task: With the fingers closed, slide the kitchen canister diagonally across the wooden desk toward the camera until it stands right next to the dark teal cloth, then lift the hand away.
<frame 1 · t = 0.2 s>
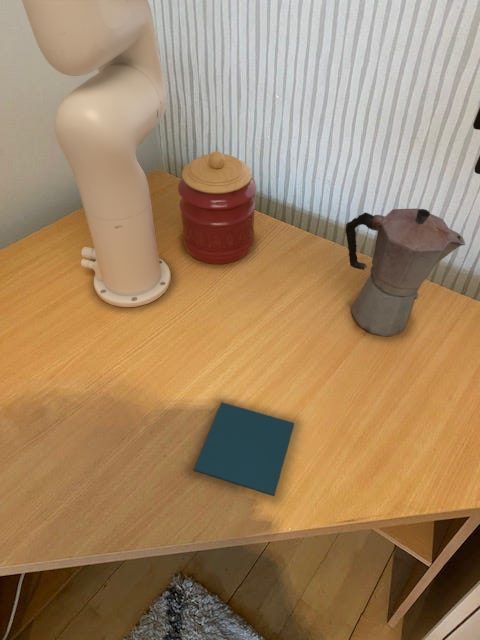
moka pot: (376, 317, 75), on the table
kitchen canister: (218, 243, 87), on the table
cloth: (245, 446, 59), on the table
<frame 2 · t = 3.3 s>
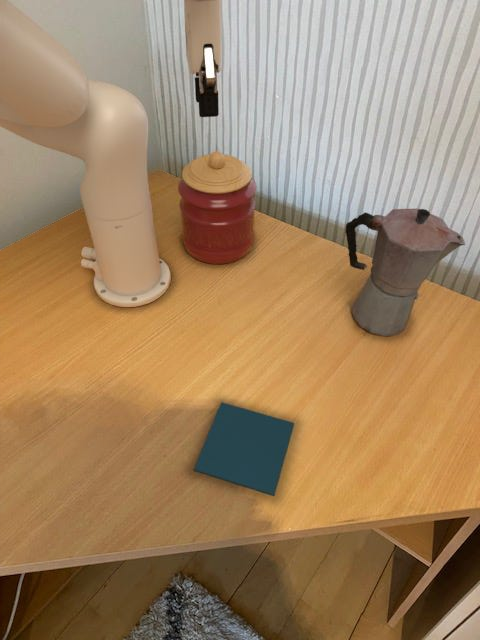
hand: (206, 107, 81), 19 cm above the table, tool pointing down, fingers open, 5 cm apart
nothing on the table moved.
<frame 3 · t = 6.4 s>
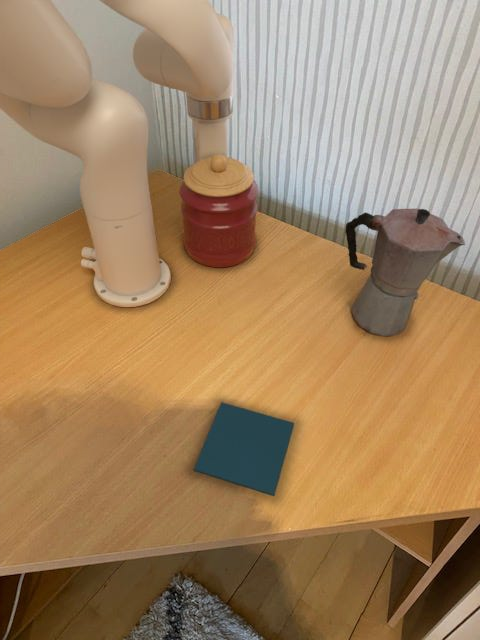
hand: (213, 200, 90), 3 cm above the table, tool pointing down, fingers closed
kitchen canister: (220, 246, 87), on the table, touching gripper
everything else where it was.
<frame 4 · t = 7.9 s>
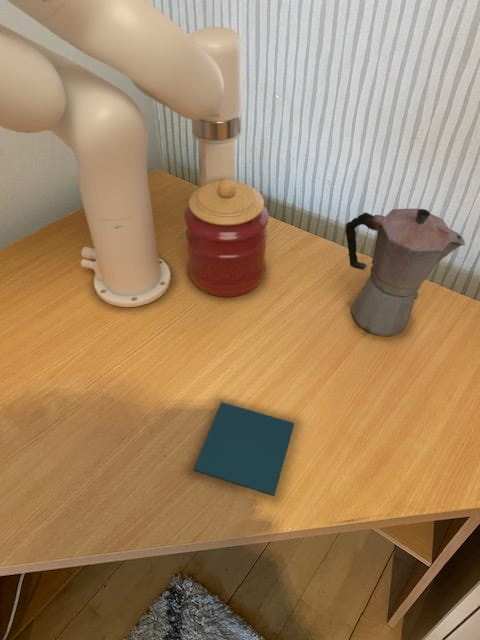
hand: (219, 223, 85), 4 cm above the table, tool pointing down, fingers closed
kitchen canister: (226, 273, 82), on the table, touching gripper
everything else where it was.
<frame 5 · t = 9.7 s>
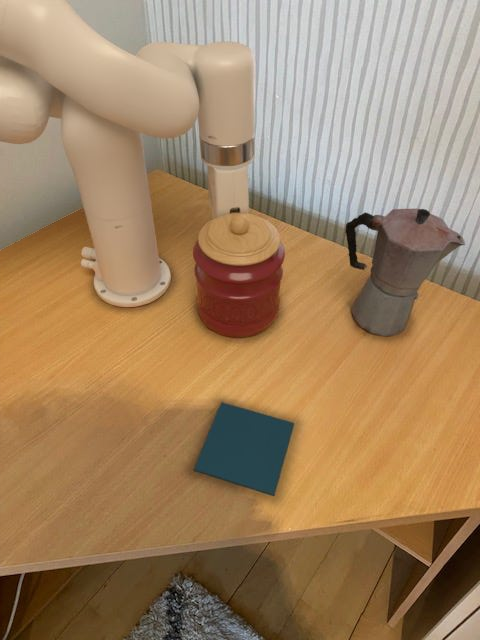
hand: (231, 250, 79), 4 cm above the table, tool pointing down, fingers closed
kitchen canister: (237, 309, 76), on the table, touching gripper
everything else where it was.
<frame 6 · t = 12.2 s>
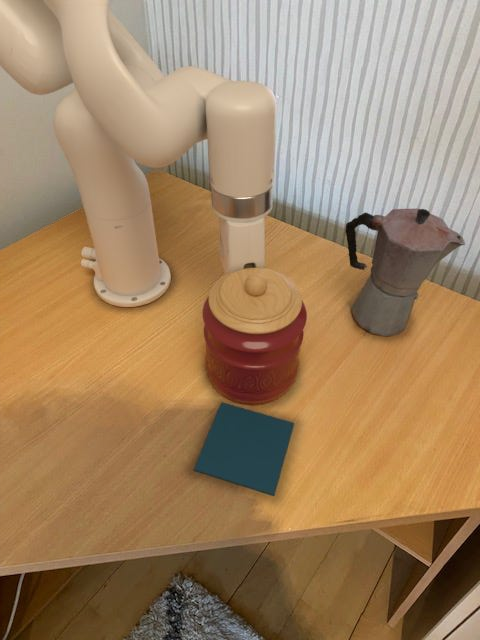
hand: (243, 303, 71), 4 cm above the table, tool pointing down, fingers closed
kitchen canister: (251, 369, 68), on the table, touching gripper
everything else where it was.
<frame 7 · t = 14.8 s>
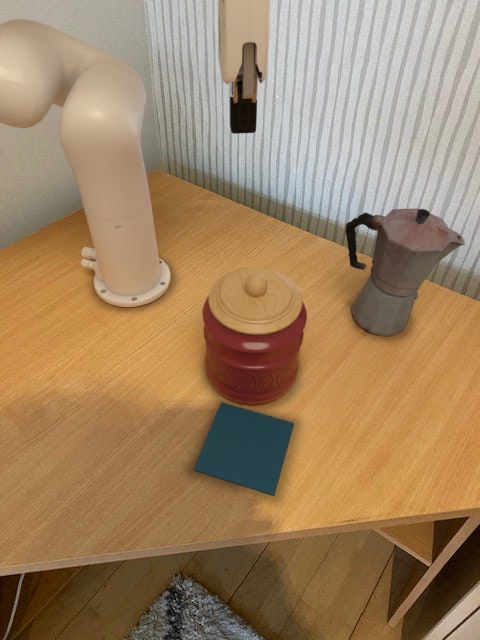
hand: (242, 130, 61), 26 cm above the table, tool pointing down, fingers closed
kitchen canister: (251, 369, 68), on the table
everything else where it was.
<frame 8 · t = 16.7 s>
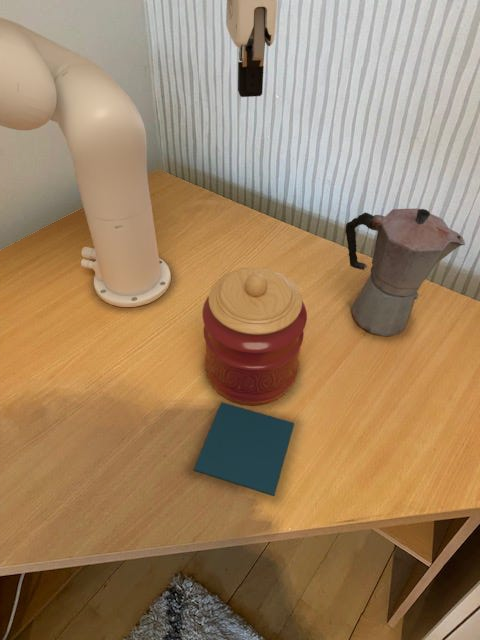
hand: (249, 93, 67), 27 cm above the table, tool pointing down, fingers closed
nothing on the table moved.
at the end: kitchen canister 12.1 cm from the cloth (horizontally); kitchen canister inside the target area (2.6 cm from its centre), on the table; kitchen canister tilted 0° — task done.
